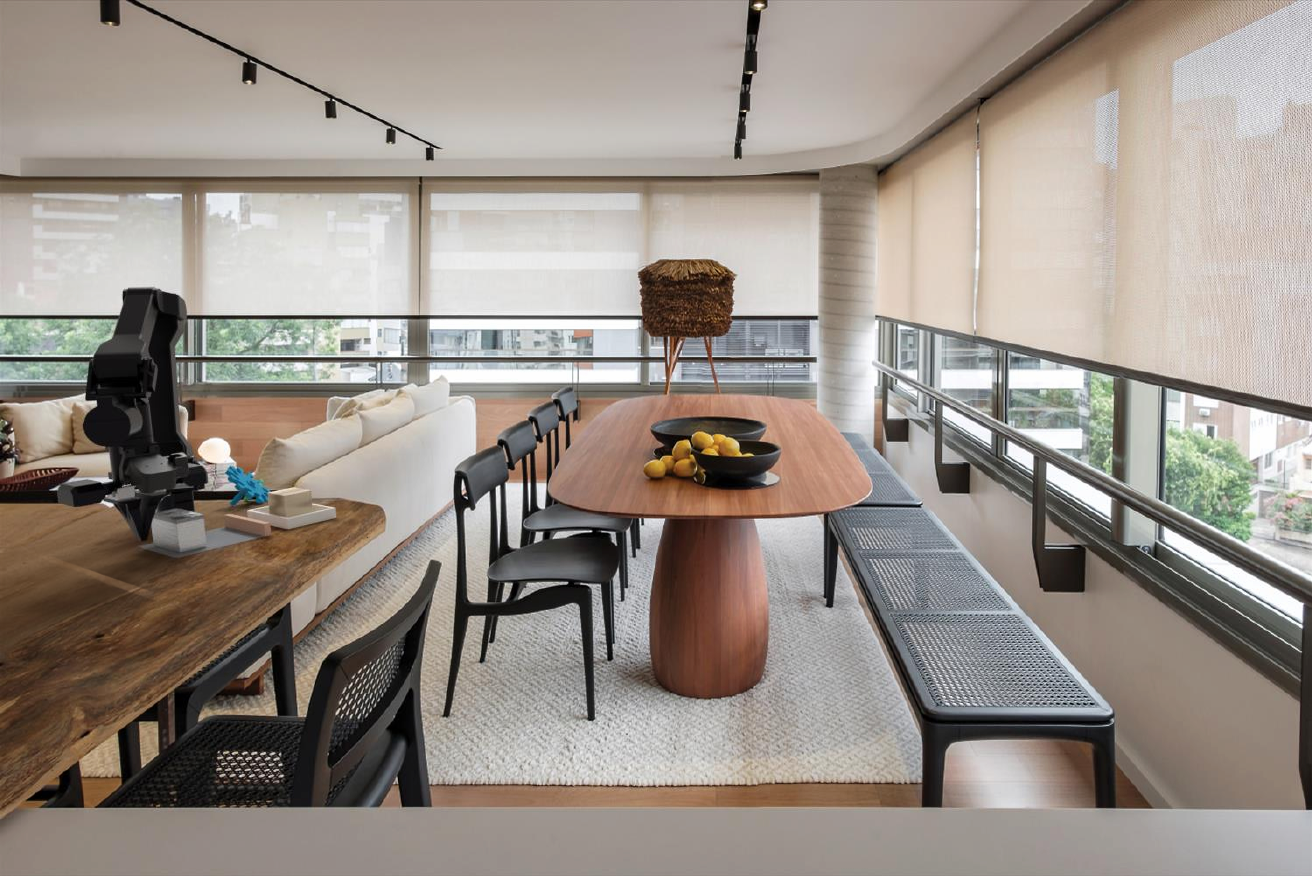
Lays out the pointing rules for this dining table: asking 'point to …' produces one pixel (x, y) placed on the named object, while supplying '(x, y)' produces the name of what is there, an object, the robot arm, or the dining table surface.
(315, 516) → the tray
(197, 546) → the grey square block
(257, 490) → the blue toy piece
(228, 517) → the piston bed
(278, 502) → the block
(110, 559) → the dining table surface
